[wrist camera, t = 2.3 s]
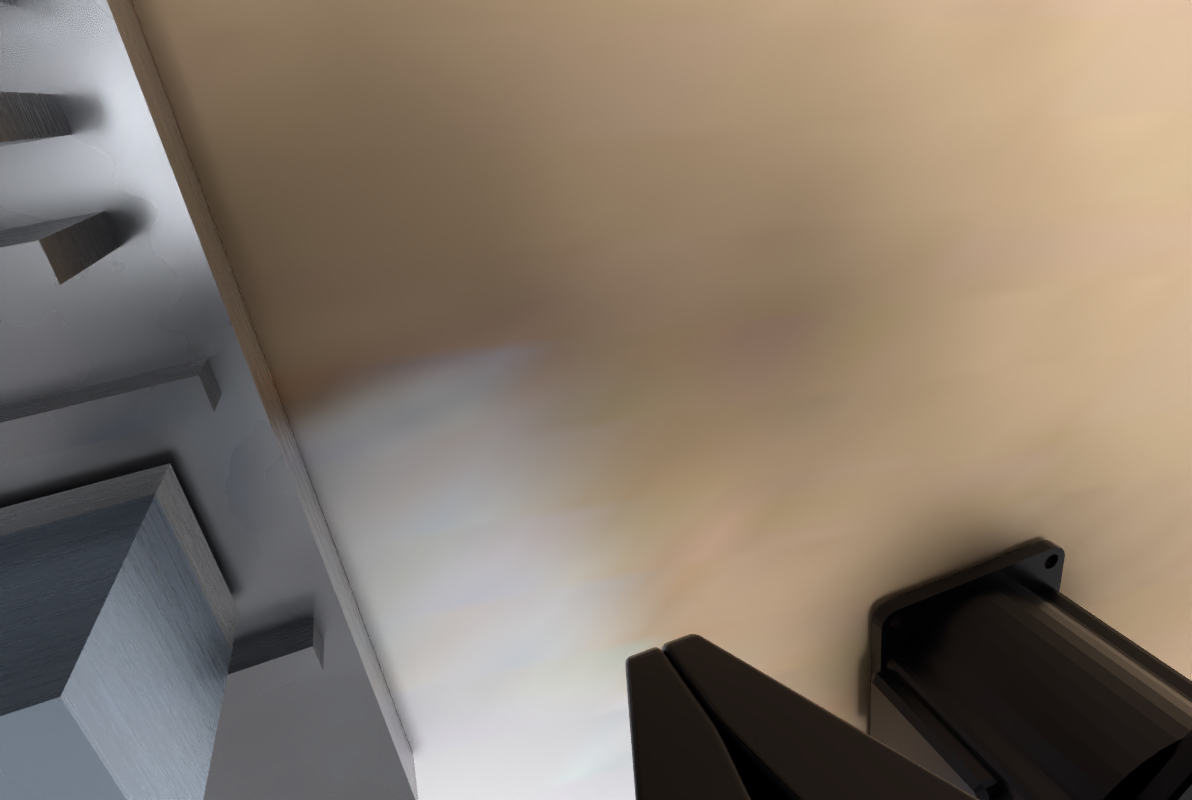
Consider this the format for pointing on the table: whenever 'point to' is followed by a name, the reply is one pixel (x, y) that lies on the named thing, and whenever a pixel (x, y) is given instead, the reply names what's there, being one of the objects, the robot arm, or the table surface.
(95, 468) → the heatsink
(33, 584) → the grey block
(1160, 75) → the table surface
